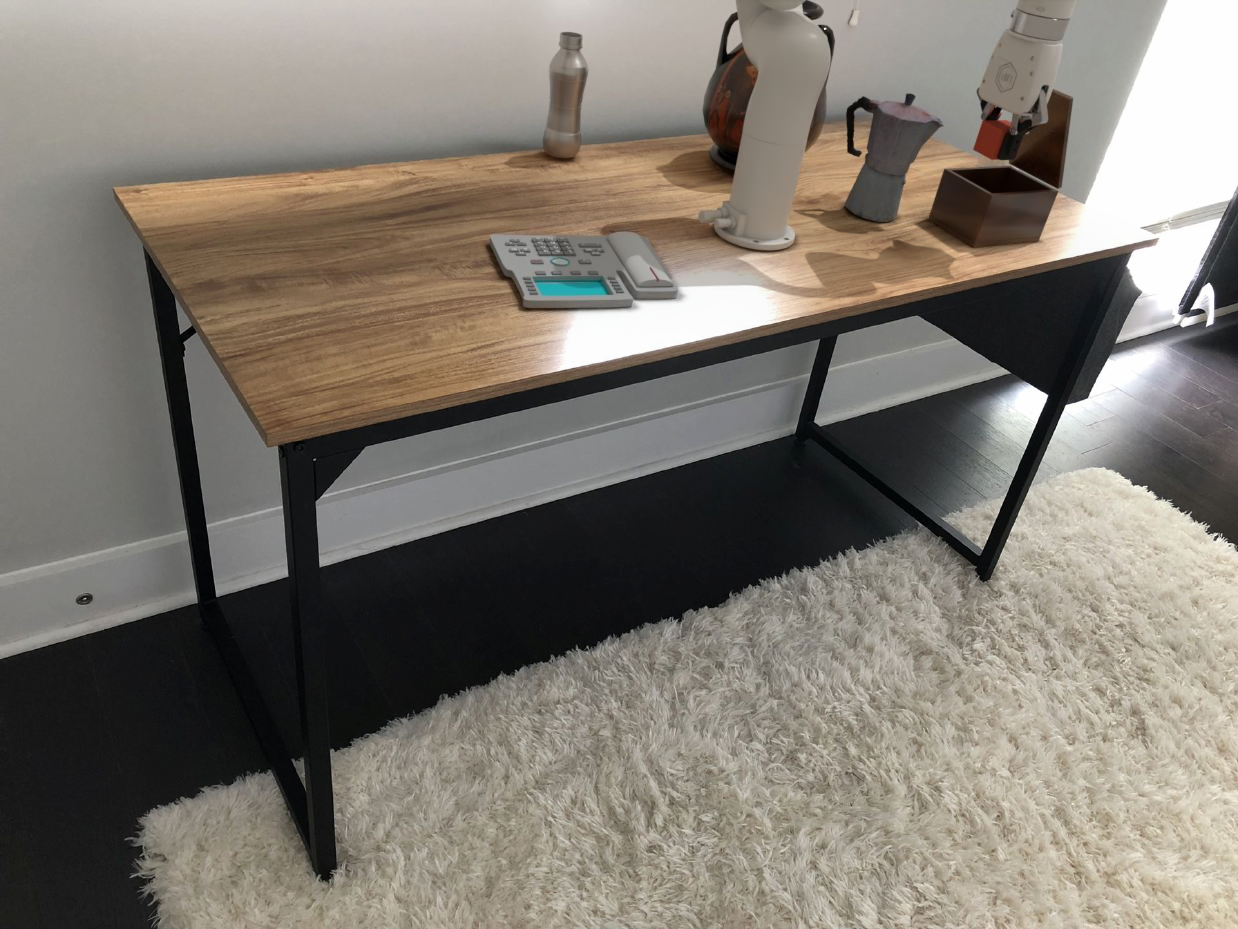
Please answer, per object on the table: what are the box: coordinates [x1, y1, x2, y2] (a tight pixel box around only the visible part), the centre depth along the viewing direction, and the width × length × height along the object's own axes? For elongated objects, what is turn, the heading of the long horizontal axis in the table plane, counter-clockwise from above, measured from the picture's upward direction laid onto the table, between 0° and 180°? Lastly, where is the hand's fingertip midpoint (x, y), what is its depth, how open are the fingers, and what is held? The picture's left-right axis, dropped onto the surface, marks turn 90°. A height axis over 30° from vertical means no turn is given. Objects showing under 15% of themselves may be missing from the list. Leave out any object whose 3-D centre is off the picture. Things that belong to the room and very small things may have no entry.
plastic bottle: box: [542, 31, 589, 159], centre depth 164 cm, size 6×7×20 cm
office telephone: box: [489, 231, 679, 309], centre depth 133 cm, size 23×3×20 cm
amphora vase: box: [701, 0, 836, 176], centre depth 169 cm, size 22×22×28 cm
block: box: [972, 119, 1024, 160], centre depth 148 cm, size 5×4×4 cm
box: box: [927, 165, 1059, 248], centre depth 163 cm, size 15×12×9 cm
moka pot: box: [844, 93, 945, 223], centre depth 160 cm, size 10×15×20 cm, turn 78°
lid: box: [1009, 88, 1074, 190], centre depth 158 cm, size 15×12×1 cm
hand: (994, 152), depth 150 cm, fingers closed on block, 4 cm apart
